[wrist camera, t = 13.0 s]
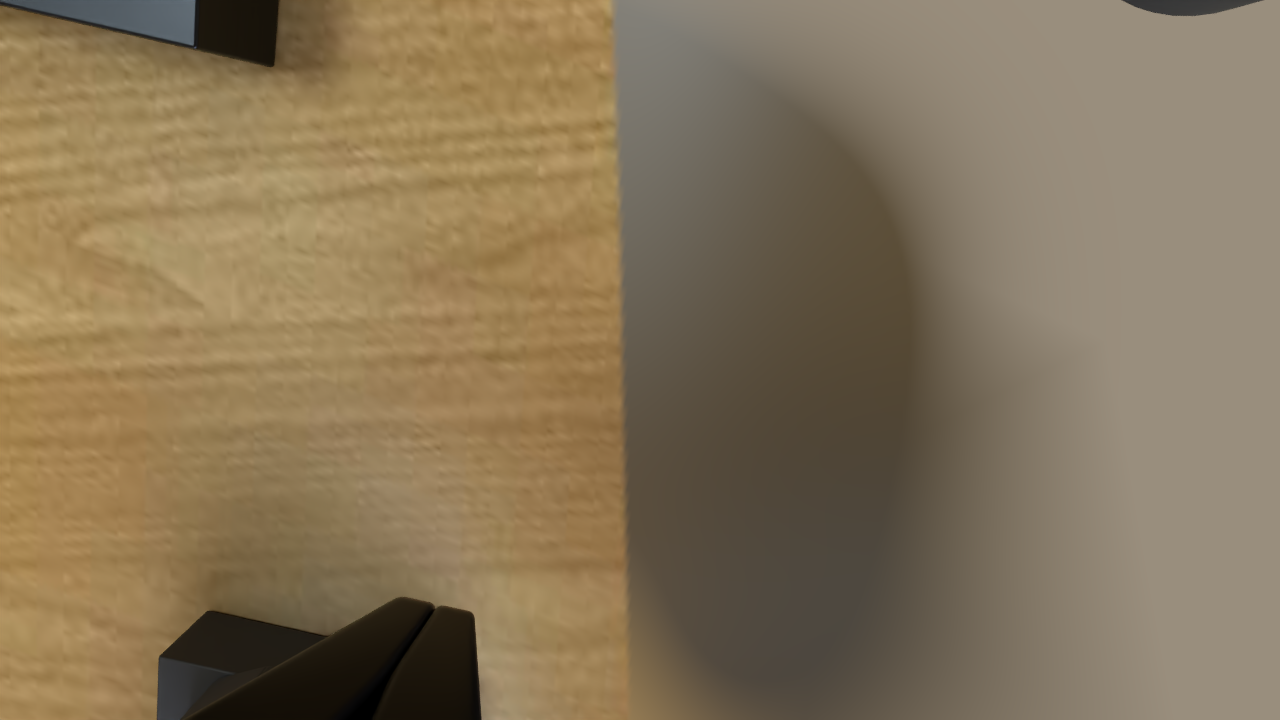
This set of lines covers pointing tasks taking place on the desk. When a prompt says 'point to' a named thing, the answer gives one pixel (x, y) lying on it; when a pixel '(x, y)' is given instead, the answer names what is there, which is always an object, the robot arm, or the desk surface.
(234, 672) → the dark grey button base
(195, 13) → the lock panel
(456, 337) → the desk surface
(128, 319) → the desk surface
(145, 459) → the desk surface
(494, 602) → the desk surface
